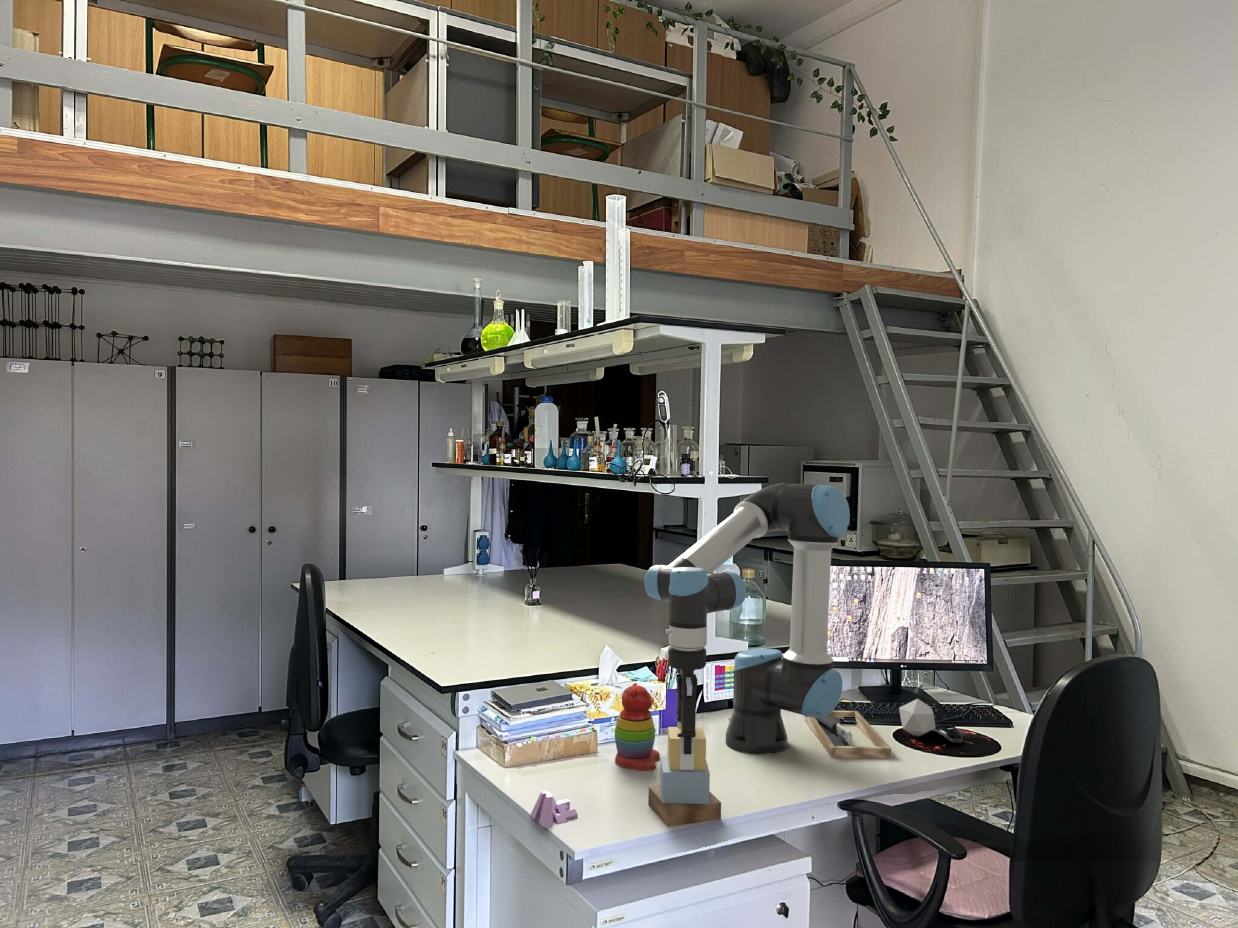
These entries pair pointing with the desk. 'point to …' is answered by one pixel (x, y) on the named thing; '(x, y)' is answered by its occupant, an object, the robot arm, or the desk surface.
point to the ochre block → (675, 748)
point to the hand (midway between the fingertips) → (685, 761)
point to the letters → (552, 810)
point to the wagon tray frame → (851, 751)
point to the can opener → (835, 731)
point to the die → (917, 718)
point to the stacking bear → (636, 731)
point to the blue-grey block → (684, 785)
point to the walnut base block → (683, 809)
